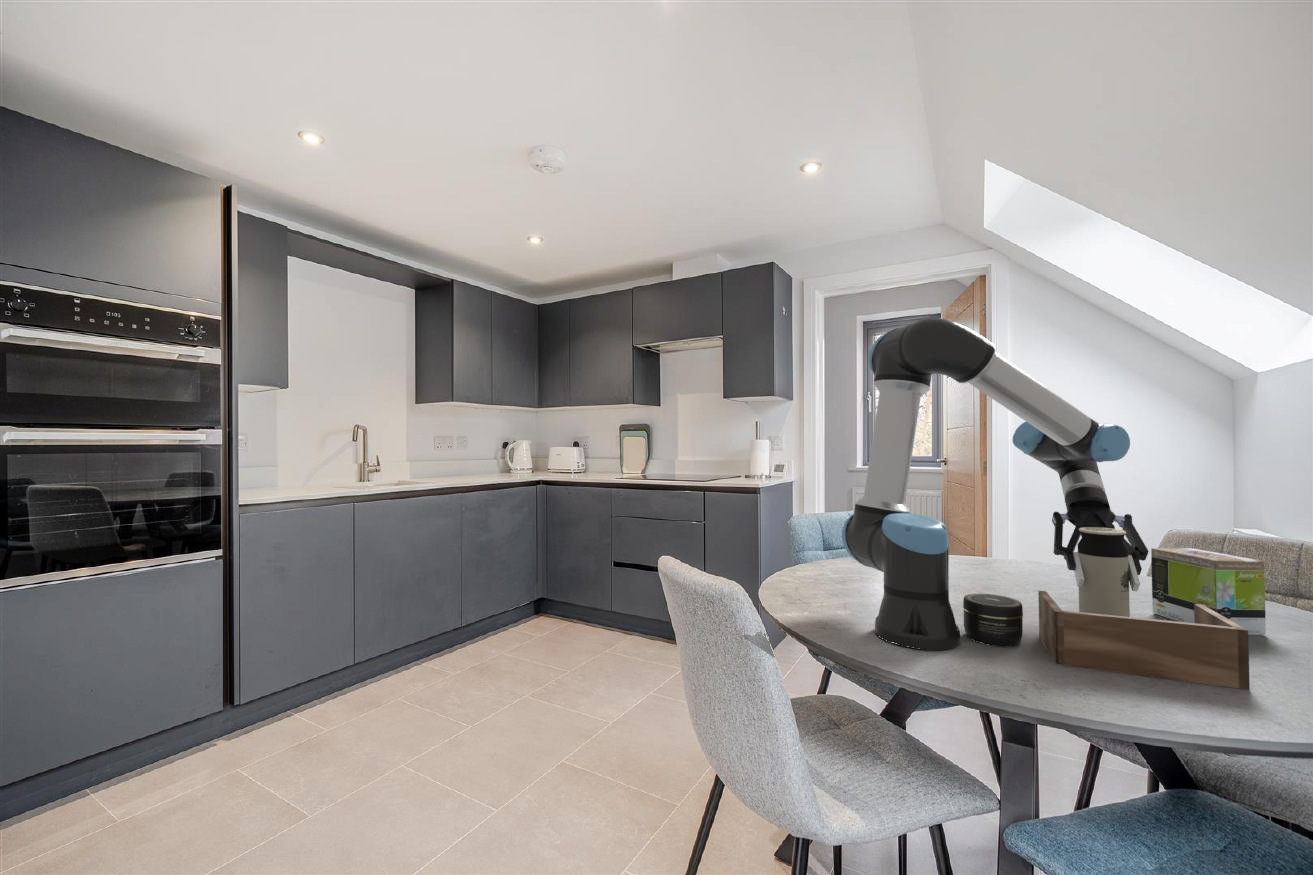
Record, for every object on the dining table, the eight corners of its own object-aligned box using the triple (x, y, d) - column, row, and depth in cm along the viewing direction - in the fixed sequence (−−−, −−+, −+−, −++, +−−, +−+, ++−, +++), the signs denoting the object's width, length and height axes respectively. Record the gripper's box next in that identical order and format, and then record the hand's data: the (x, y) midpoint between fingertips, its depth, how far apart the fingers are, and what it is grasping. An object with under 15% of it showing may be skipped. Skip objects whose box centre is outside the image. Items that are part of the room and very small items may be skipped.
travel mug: (1069, 616, 115) (1068, 528, 115) (1095, 611, 118) (1093, 525, 118) (1113, 627, 108) (1111, 533, 108) (1139, 622, 110) (1137, 531, 111)
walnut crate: (1039, 636, 110) (1038, 590, 110) (1204, 655, 99) (1203, 604, 99) (1056, 664, 96) (1055, 611, 96) (1249, 689, 85) (1248, 630, 86)
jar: (964, 627, 116) (963, 590, 116) (1022, 635, 111) (1021, 596, 111) (962, 642, 107) (961, 602, 107) (1025, 651, 102) (1024, 609, 102)
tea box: (1269, 636, 109) (1267, 560, 109) (1216, 636, 109) (1214, 560, 110) (1196, 613, 124) (1194, 546, 125) (1150, 613, 124) (1148, 546, 125)
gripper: (1140, 508, 122) (1171, 601, 108) (1027, 504, 131) (1042, 590, 117) (1148, 485, 118) (1182, 579, 103) (1030, 483, 127) (1046, 569, 112)
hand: (1108, 585), depth 110 cm, fingers closed on travel mug, 8 cm apart
